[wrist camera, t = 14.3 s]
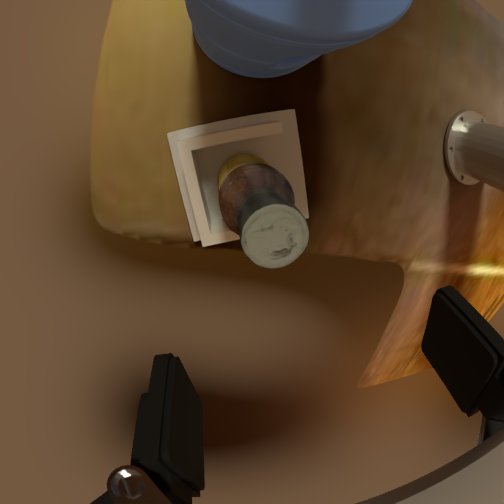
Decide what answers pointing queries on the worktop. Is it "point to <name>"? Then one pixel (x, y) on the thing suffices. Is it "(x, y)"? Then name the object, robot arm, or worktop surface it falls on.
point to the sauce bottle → (261, 211)
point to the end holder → (222, 148)
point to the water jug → (285, 30)
